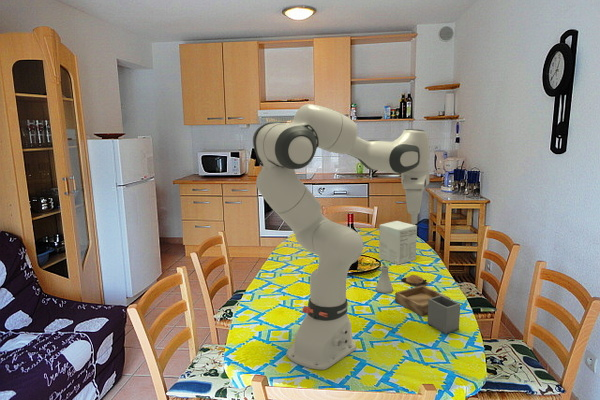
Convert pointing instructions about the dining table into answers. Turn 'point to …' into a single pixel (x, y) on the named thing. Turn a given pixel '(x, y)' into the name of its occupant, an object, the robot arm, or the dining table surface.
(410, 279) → the bread roll
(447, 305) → the small crate
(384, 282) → the flask
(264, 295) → the dining table surface
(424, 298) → the tray
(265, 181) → the robot arm
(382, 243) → the supplement box
